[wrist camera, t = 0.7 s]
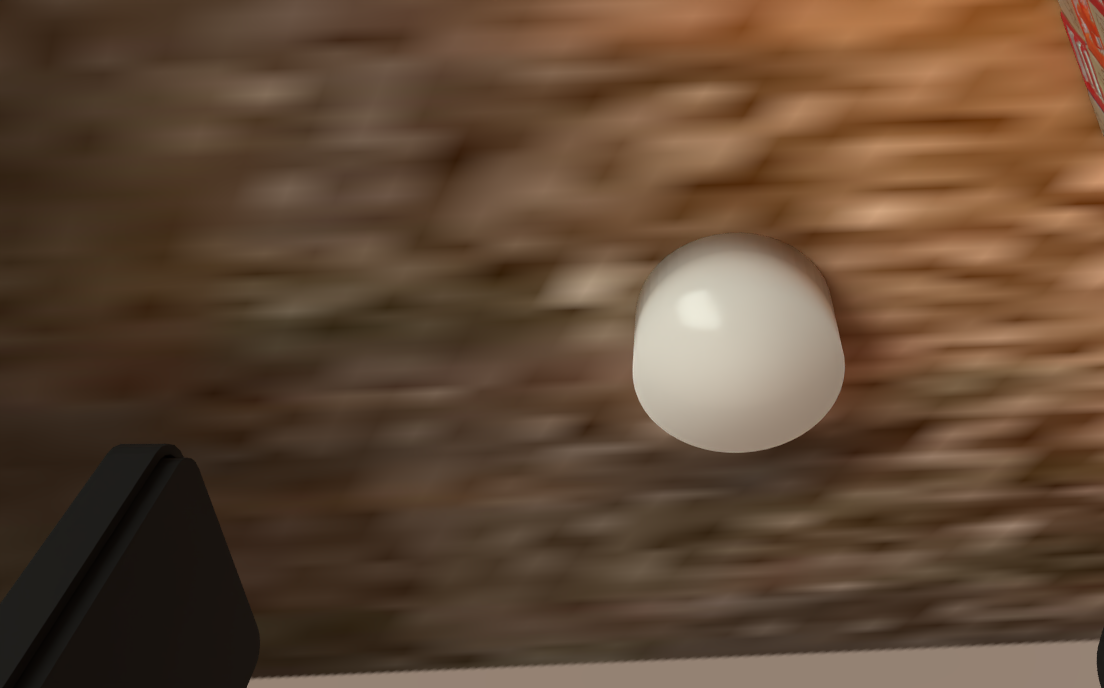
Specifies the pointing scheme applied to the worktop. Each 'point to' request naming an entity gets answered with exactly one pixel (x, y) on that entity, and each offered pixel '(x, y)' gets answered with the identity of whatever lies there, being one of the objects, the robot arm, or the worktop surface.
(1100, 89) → the stack of blocks
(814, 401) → the cream dome knob
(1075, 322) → the worktop surface
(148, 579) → the robot arm
